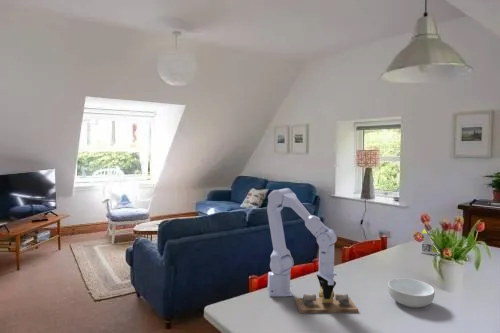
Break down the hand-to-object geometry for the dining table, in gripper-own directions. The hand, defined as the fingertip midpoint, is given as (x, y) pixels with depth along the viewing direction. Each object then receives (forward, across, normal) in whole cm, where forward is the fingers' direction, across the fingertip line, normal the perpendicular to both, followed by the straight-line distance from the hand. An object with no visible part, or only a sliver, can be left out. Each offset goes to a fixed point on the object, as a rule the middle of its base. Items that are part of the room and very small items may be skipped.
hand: (325, 296), depth 137 cm
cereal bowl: (+4, +2, -34) cm, 35 cm away
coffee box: (+4, +68, -82) cm, 106 cm away
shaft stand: (+4, 0, 0) cm, 4 cm away
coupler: (+2, 0, 0) cm, 2 cm away
